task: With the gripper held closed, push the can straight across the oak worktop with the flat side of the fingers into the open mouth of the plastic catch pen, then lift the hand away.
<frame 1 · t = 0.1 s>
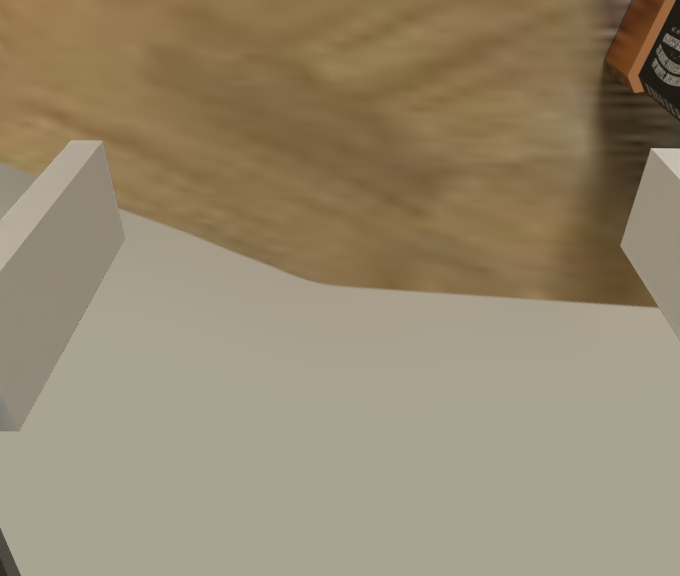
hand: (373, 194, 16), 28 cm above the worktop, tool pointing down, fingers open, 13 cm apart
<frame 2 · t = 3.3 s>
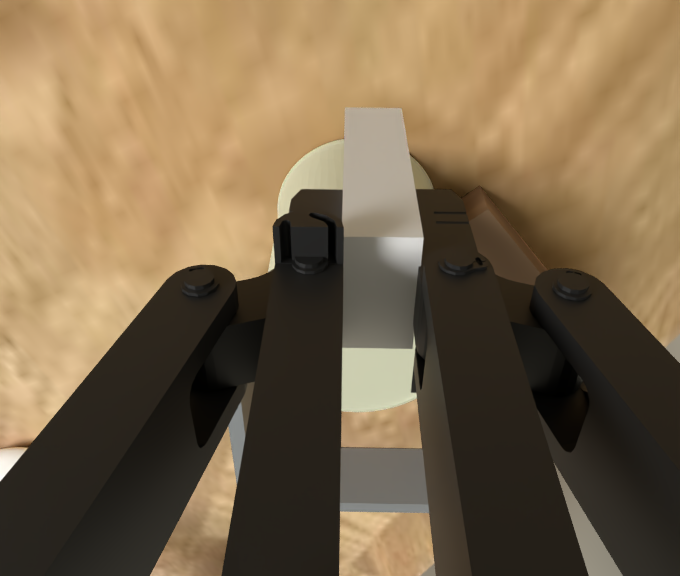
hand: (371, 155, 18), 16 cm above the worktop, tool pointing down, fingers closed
flower in vase: (37, 479, 53), on the worktop
catch pen: (352, 383, 45), on the worktop
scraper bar: (536, 293, 41), on the worktop
can: (356, 209, 37), on the worktop
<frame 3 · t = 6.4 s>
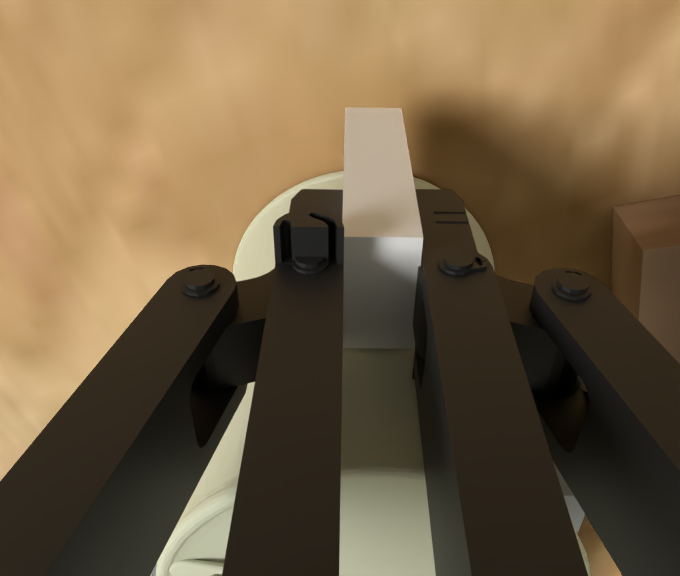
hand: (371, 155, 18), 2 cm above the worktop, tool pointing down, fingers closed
catch pen: (352, 505, 30), on the worktop
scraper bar: (642, 385, 26), on the worktop
can: (362, 282, 23), on the worktop, touching gripper
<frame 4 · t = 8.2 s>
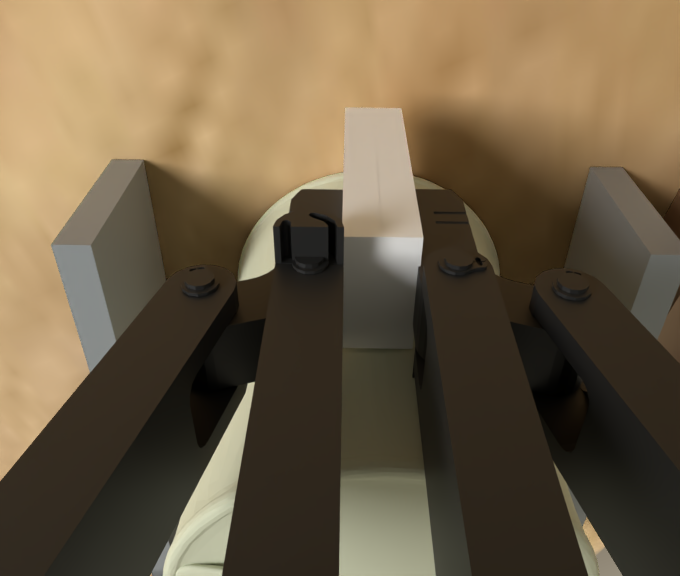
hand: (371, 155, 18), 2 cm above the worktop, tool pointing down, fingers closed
catch pen: (359, 353, 25), on the worktop
can: (367, 282, 23), on the worktop, touching gripper
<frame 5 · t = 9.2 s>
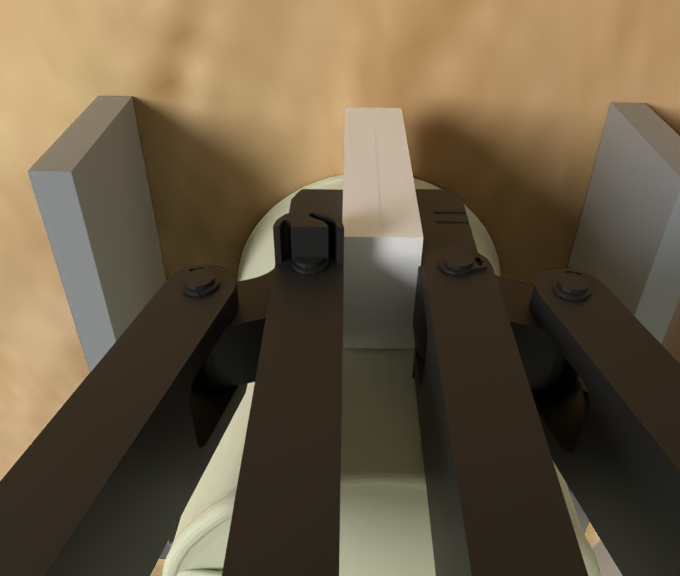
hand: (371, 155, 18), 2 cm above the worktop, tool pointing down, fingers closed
catch pen: (362, 314, 23), on the worktop
can: (367, 285, 23), on the worktop, touching gripper
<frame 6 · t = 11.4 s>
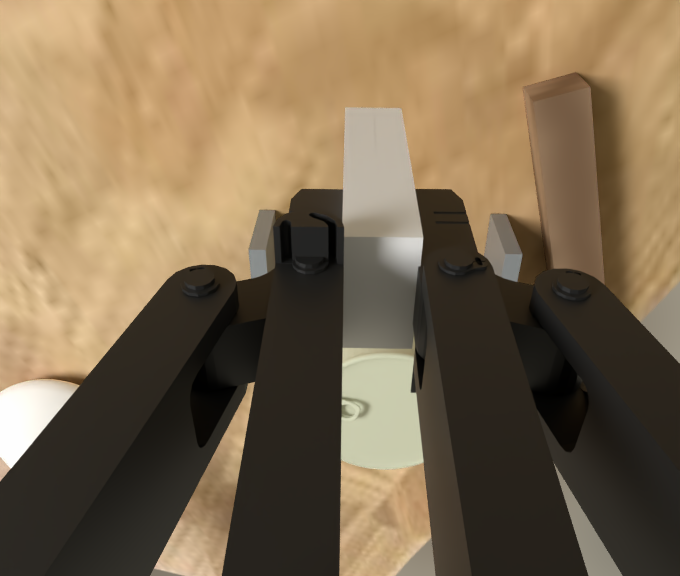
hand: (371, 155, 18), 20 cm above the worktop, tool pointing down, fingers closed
flower in vase: (61, 418, 53), on the worktop
catch pen: (377, 310, 46), on the worktop
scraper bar: (562, 212, 41), on the worktop
can: (380, 296, 45), on the worktop
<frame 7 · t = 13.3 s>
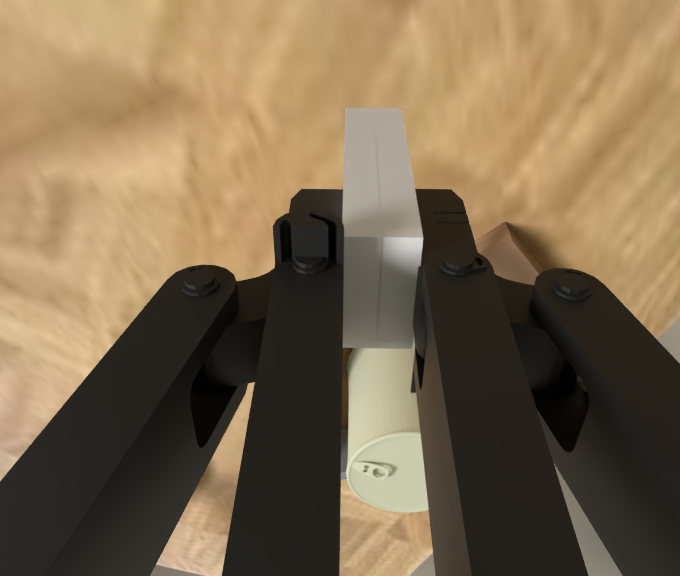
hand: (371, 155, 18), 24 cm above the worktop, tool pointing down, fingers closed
catch pen: (396, 376, 56), on the worktop
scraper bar: (546, 303, 52), on the worktop
can: (399, 364, 56), on the worktop
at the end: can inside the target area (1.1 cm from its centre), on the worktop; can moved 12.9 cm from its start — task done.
